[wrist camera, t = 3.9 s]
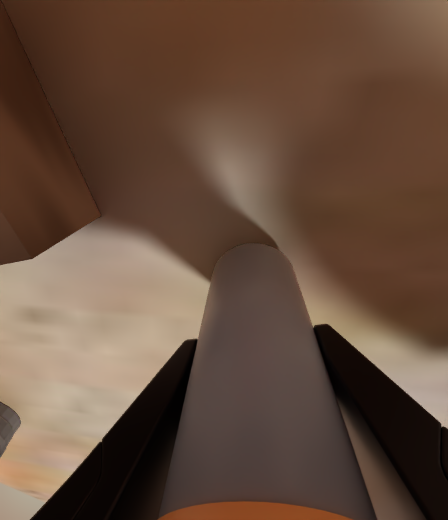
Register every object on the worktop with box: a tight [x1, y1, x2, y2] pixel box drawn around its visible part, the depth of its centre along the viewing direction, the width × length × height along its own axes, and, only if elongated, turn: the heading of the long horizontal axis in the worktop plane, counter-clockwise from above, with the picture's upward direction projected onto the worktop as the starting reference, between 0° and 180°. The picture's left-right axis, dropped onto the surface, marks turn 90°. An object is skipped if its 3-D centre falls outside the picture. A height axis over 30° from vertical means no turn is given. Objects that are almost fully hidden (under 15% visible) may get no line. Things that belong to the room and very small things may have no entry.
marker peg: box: [158, 243, 377, 520], centre depth 7 cm, size 4×4×10 cm
